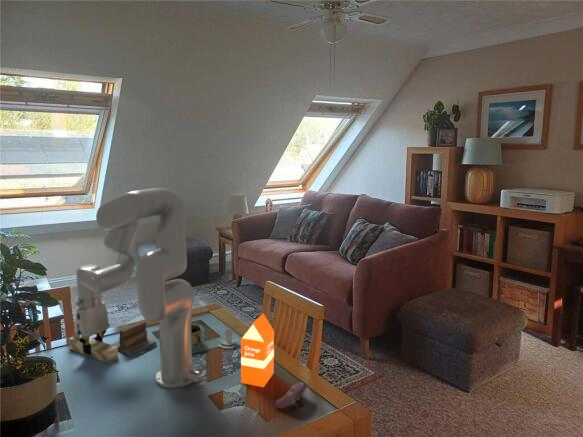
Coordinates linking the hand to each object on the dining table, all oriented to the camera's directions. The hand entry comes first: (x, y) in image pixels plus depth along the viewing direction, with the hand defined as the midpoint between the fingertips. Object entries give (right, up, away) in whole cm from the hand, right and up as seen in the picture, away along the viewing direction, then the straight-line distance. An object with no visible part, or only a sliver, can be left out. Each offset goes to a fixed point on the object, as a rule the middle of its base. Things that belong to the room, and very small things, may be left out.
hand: (93, 350), depth 152 cm
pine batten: (0, -1, 0) cm, 1 cm away
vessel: (+32, -1, +8) cm, 33 cm away
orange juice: (+58, -5, -14) cm, 60 cm away
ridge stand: (+12, 0, +5) cm, 13 cm away
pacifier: (+46, -1, +8) cm, 46 cm away
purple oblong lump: (+69, -7, -27) cm, 74 cm away
